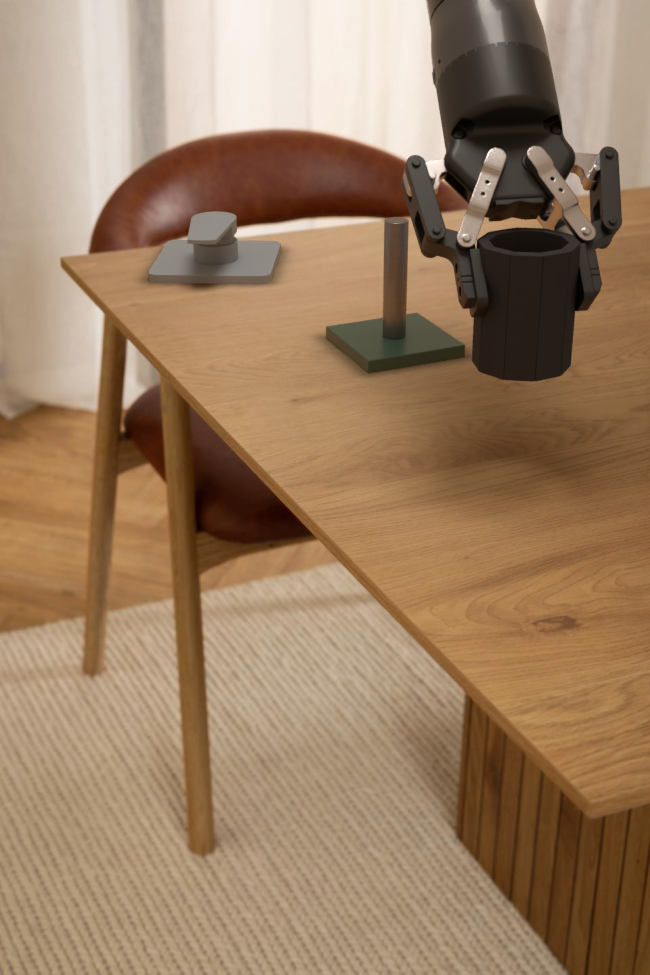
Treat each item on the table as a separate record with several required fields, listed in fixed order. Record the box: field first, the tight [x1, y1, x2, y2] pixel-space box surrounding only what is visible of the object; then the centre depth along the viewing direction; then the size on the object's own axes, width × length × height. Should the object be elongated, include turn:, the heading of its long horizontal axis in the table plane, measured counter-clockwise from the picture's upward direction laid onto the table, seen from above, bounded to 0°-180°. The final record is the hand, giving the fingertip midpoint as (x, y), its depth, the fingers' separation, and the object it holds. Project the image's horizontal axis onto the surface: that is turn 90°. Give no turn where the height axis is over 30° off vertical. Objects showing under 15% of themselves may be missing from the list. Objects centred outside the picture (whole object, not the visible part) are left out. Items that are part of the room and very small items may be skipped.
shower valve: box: [147, 210, 282, 285], centre depth 121 cm, size 12×6×15 cm
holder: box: [325, 216, 466, 374], centre depth 100 cm, size 9×9×11 cm
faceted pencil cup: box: [471, 227, 581, 382], centre depth 74 cm, size 6×6×8 cm
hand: (533, 307), depth 72 cm, fingers closed on faceted pencil cup, 6 cm apart
